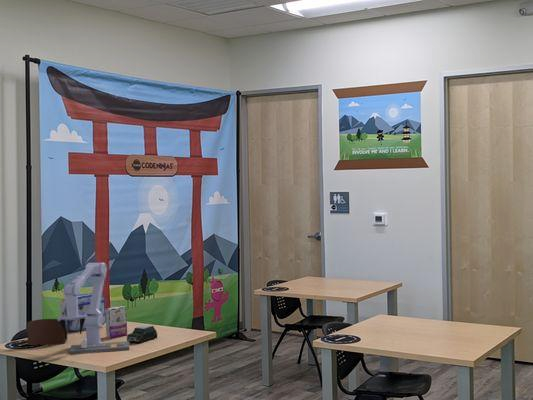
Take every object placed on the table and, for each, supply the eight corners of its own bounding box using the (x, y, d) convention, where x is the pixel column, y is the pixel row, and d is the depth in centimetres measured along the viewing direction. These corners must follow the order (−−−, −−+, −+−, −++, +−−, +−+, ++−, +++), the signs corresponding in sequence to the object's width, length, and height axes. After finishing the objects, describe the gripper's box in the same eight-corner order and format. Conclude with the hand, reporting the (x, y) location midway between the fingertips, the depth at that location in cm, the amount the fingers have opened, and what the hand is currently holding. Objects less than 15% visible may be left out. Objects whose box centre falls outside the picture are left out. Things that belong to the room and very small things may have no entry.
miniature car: (125, 343, 385) (124, 328, 384) (146, 336, 400) (146, 322, 400) (138, 344, 380) (137, 329, 380) (159, 338, 396) (158, 323, 396)
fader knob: (81, 346, 370) (81, 338, 370) (86, 346, 370) (86, 338, 370) (81, 348, 366) (81, 340, 365) (86, 347, 366) (85, 339, 366)
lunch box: (66, 334, 414) (65, 296, 414) (58, 331, 422) (56, 294, 422) (108, 326, 433) (106, 290, 432) (99, 324, 440) (98, 289, 440)
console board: (71, 348, 375) (71, 345, 375) (129, 344, 381) (129, 341, 381) (69, 354, 362) (69, 350, 362) (129, 349, 367) (129, 346, 367)
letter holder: (65, 343, 388) (64, 318, 388) (27, 346, 385) (26, 320, 384) (67, 340, 398) (66, 315, 397) (30, 342, 395) (29, 317, 394)
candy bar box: (123, 334, 409) (122, 305, 409) (127, 335, 405) (126, 306, 405) (105, 337, 402) (104, 308, 401) (110, 338, 398) (109, 309, 398)
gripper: (56, 309, 360) (57, 336, 360) (86, 307, 363) (87, 334, 363) (58, 307, 367) (59, 333, 367) (86, 305, 370) (87, 331, 370)
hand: (73, 333), depth 366 cm, fingers open, 7 cm apart
